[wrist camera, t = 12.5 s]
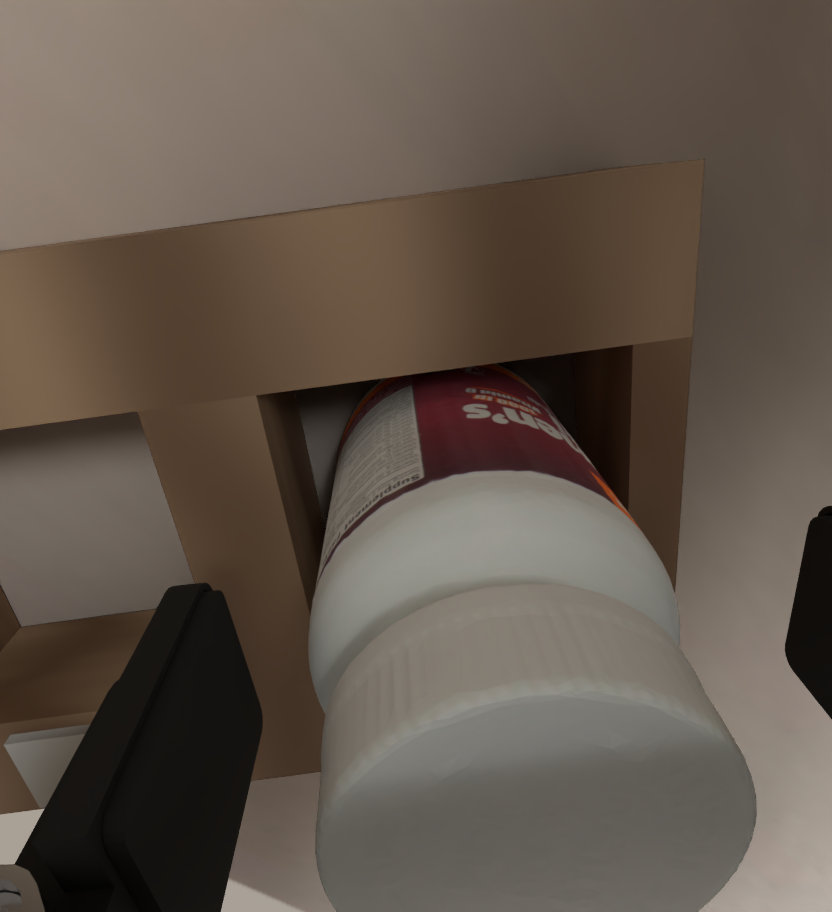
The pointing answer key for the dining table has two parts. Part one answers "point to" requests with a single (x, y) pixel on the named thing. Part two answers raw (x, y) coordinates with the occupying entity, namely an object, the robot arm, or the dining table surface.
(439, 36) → the dining table surface
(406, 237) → the socket board
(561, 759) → the pill bottle
